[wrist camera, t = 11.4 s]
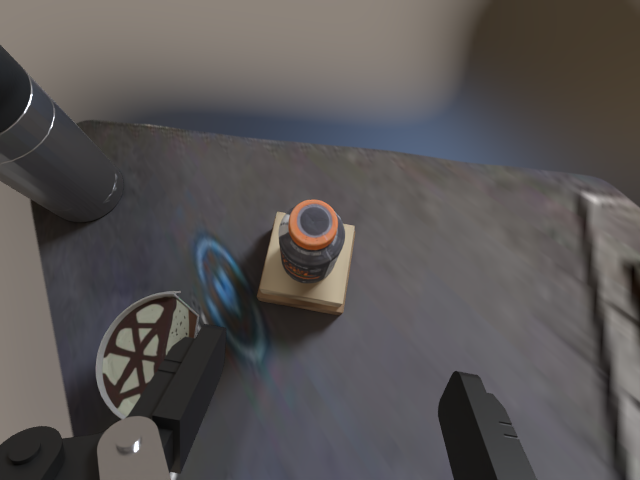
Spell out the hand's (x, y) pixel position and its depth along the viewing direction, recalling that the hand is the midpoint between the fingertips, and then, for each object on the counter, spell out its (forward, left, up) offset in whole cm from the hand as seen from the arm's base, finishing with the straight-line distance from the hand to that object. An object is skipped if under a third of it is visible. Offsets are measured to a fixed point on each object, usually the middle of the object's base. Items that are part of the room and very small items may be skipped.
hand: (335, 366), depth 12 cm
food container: (-16, -2, -31) cm, 35 cm away
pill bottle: (-2, +10, -25) cm, 27 cm away
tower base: (-2, +11, -31) cm, 32 cm away
